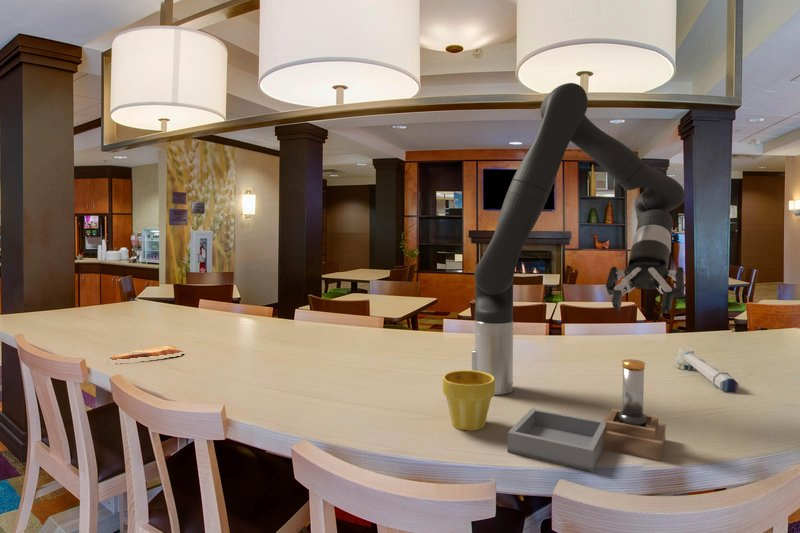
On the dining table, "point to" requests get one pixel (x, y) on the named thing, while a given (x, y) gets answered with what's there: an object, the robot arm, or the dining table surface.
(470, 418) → the plant pot
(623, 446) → the brown square open box
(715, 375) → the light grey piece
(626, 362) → the gold-capped glass canister
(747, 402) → the dining table surface
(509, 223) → the robot arm
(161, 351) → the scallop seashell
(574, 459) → the tray
